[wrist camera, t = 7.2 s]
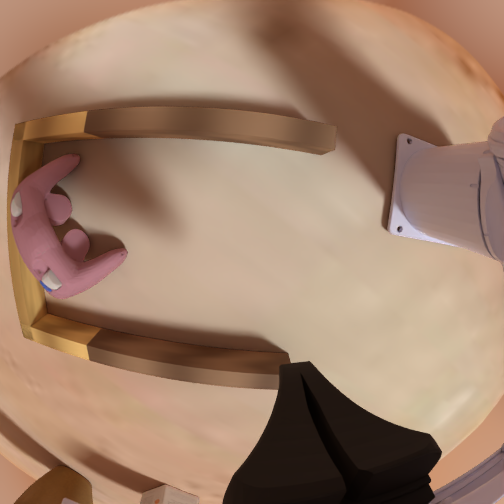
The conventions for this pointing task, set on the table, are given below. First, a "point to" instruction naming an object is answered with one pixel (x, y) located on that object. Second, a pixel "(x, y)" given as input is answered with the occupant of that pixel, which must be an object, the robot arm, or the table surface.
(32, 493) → the plant pot
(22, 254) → the video game controller
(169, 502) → the small box
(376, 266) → the table surface
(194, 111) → the bay
